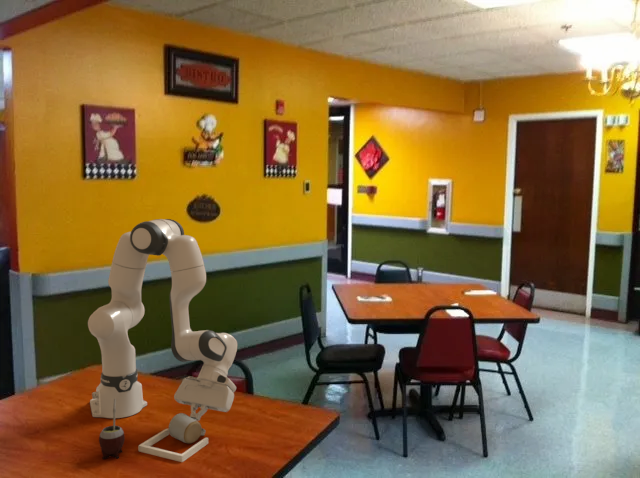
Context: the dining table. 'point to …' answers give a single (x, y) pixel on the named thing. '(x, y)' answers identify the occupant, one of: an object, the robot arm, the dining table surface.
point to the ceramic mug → (185, 428)
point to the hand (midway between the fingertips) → (194, 419)
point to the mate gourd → (111, 439)
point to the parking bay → (168, 454)
